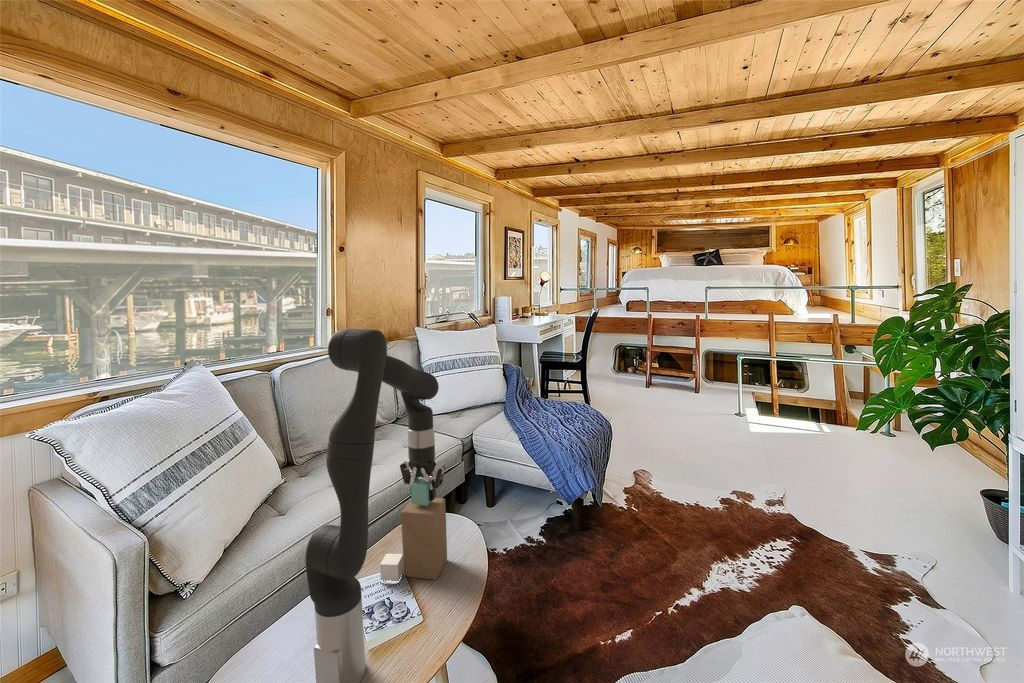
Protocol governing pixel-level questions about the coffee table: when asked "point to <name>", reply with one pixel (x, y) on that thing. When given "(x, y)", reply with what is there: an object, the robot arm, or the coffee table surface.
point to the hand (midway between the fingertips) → (423, 498)
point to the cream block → (392, 567)
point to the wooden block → (424, 539)
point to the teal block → (420, 492)
